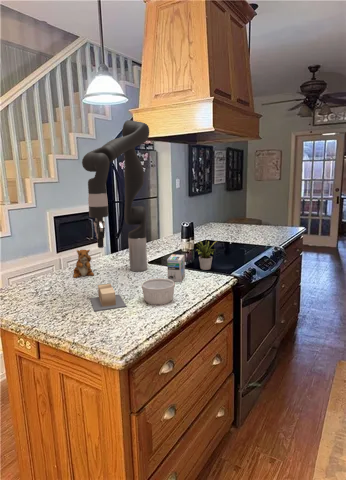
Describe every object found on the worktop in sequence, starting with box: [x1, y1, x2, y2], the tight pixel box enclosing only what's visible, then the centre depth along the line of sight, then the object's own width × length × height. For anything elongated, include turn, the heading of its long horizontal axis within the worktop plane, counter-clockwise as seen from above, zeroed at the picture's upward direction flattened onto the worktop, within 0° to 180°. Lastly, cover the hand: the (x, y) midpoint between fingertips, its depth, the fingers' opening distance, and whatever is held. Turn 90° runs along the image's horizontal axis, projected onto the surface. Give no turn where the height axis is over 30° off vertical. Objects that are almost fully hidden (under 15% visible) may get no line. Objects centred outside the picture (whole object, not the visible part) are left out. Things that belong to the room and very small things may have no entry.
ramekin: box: [141, 277, 176, 305], centre depth 136 cm, size 13×13×7 cm
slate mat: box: [89, 293, 127, 312], centre depth 134 cm, size 14×12×1 cm
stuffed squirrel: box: [73, 249, 95, 279], centre depth 173 cm, size 10×14×13 cm
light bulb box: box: [166, 254, 186, 283], centre depth 163 cm, size 11×7×11 cm, turn 168°
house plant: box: [192, 239, 218, 271], centre depth 179 cm, size 14×14×16 cm
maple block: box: [97, 282, 116, 307], centre depth 135 cm, size 5×5×12 cm
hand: (100, 247), depth 139 cm, fingers closed
